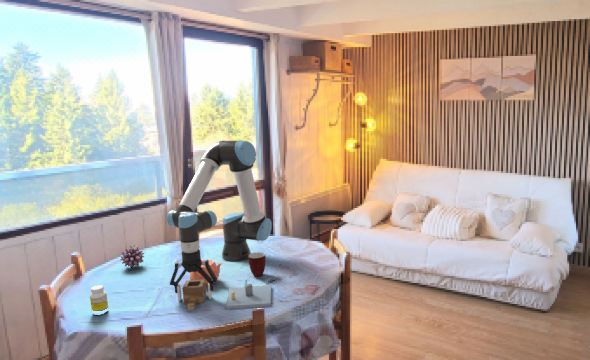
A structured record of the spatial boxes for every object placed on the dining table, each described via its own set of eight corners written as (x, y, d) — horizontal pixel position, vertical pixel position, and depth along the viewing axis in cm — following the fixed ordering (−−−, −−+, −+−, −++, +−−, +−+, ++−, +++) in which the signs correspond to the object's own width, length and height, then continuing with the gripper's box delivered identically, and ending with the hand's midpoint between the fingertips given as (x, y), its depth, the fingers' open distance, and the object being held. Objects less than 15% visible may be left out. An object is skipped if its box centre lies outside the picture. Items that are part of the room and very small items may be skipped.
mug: (269, 279, 209) (268, 258, 207) (252, 281, 206) (251, 261, 204) (264, 271, 218) (263, 251, 217) (248, 273, 216) (246, 253, 214)
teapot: (225, 284, 205) (223, 261, 203) (193, 292, 199) (191, 268, 197) (215, 274, 218) (213, 252, 215) (186, 280, 211) (183, 258, 209)
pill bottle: (95, 310, 186) (91, 284, 184) (110, 308, 186) (107, 283, 184) (90, 317, 180) (86, 291, 178) (105, 315, 180) (102, 289, 178)
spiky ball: (145, 262, 239) (143, 240, 237) (145, 269, 228) (143, 247, 226) (122, 265, 236) (119, 243, 234) (121, 273, 225) (118, 250, 222)
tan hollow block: (187, 295, 195) (186, 280, 193) (206, 294, 195) (204, 279, 194) (180, 310, 181) (179, 294, 180) (200, 309, 181) (199, 293, 180)
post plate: (230, 290, 198) (229, 278, 197) (271, 287, 199) (270, 275, 198) (225, 308, 180) (224, 296, 180) (270, 306, 181) (269, 293, 180)
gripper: (158, 255, 183) (164, 304, 187) (219, 251, 184) (223, 300, 187) (163, 249, 190) (168, 296, 194) (221, 245, 191) (225, 293, 195)
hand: (195, 298), depth 191 cm, fingers open, 12 cm apart
